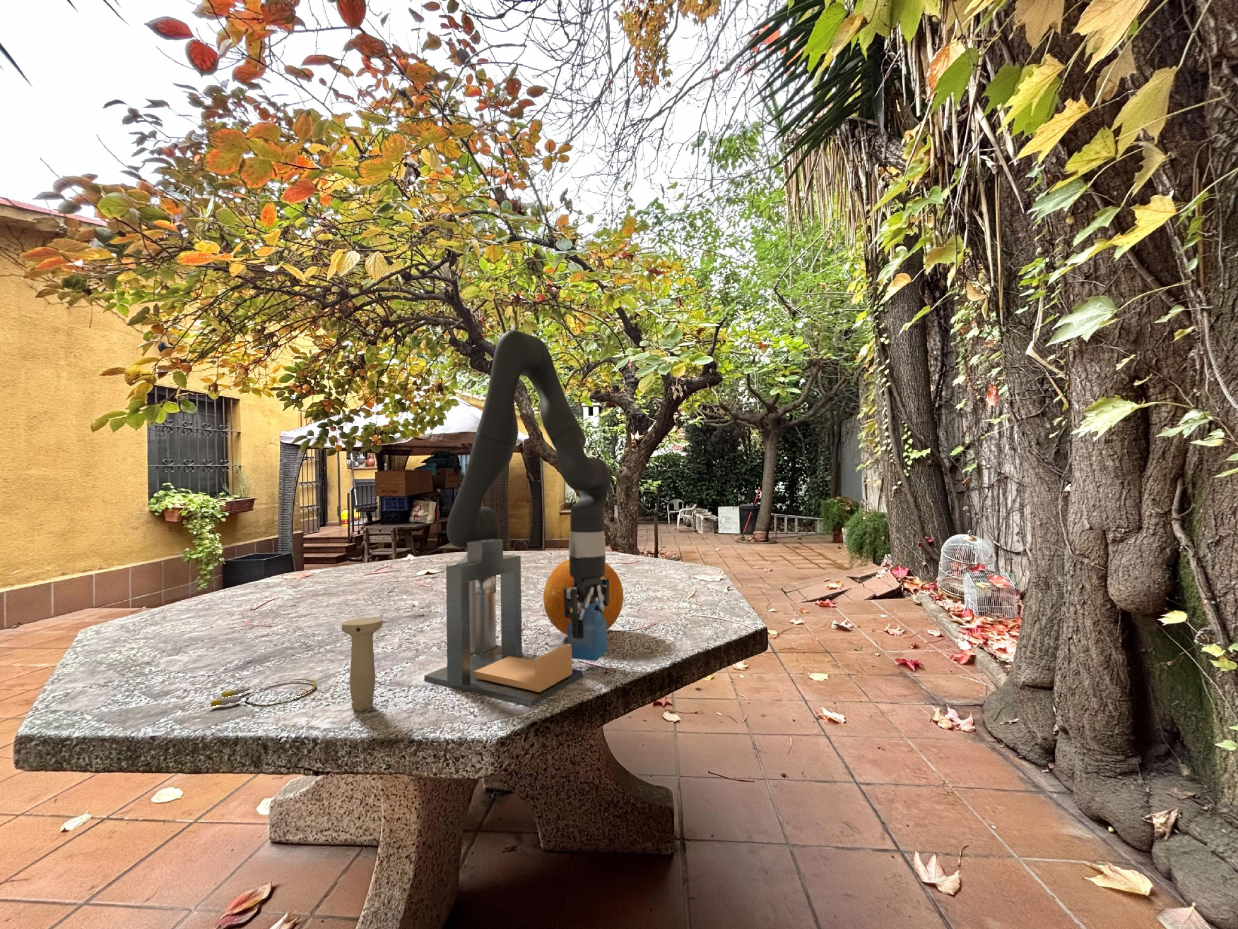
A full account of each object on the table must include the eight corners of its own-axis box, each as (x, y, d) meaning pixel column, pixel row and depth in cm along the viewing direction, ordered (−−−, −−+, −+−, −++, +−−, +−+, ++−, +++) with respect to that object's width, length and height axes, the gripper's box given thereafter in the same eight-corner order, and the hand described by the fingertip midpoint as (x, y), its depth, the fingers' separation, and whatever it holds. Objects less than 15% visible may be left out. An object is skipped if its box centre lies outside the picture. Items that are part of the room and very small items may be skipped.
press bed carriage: (474, 677, 102) (473, 647, 103) (509, 661, 111) (508, 634, 111) (539, 692, 95) (539, 659, 95) (572, 674, 103) (571, 644, 103)
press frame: (422, 681, 105) (421, 543, 106) (484, 656, 119) (482, 535, 120) (529, 707, 91) (527, 549, 92) (584, 675, 106) (581, 539, 107)
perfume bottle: (606, 651, 112) (606, 594, 112) (596, 661, 106) (595, 600, 106) (579, 648, 114) (579, 592, 114) (567, 657, 108) (567, 598, 108)
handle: (347, 704, 94) (346, 619, 95) (385, 701, 95) (385, 616, 96) (338, 716, 89) (337, 626, 90) (378, 712, 91) (378, 623, 91)
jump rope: (245, 687, 105) (245, 676, 105) (328, 683, 106) (327, 673, 106) (201, 713, 93) (201, 702, 93) (294, 709, 94) (294, 697, 94)
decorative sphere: (545, 628, 142) (543, 552, 142) (619, 624, 144) (618, 550, 145) (542, 651, 122) (541, 563, 123) (629, 646, 124) (627, 560, 125)
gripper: (590, 547, 118) (591, 622, 118) (551, 556, 106) (552, 640, 106) (620, 549, 115) (620, 627, 114) (583, 558, 102) (583, 645, 102)
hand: (587, 633), depth 110 cm, fingers closed on perfume bottle, 6 cm apart
